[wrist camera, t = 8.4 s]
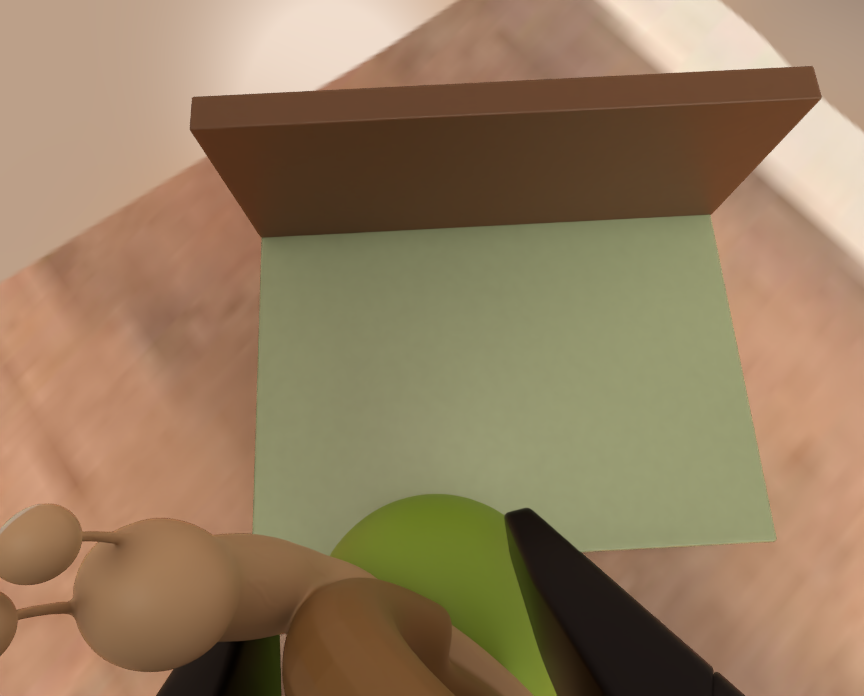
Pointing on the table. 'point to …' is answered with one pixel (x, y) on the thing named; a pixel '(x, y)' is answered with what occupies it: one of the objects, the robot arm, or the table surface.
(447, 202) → the bench with backrest
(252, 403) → the table surface
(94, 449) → the table surface
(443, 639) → the snail figurine
